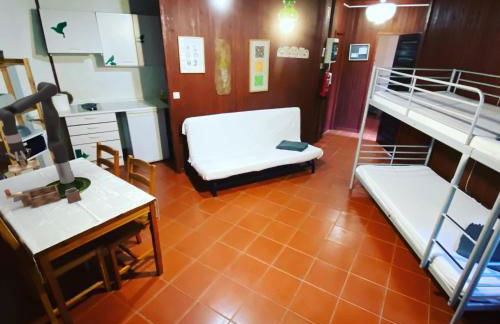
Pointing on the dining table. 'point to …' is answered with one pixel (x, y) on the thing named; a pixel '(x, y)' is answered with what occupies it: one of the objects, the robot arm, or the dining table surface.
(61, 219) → the dining table surface
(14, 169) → the lid
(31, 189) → the mat
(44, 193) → the toolbox
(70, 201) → the lighter
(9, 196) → the wooden block with peg
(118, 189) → the dining table surface
